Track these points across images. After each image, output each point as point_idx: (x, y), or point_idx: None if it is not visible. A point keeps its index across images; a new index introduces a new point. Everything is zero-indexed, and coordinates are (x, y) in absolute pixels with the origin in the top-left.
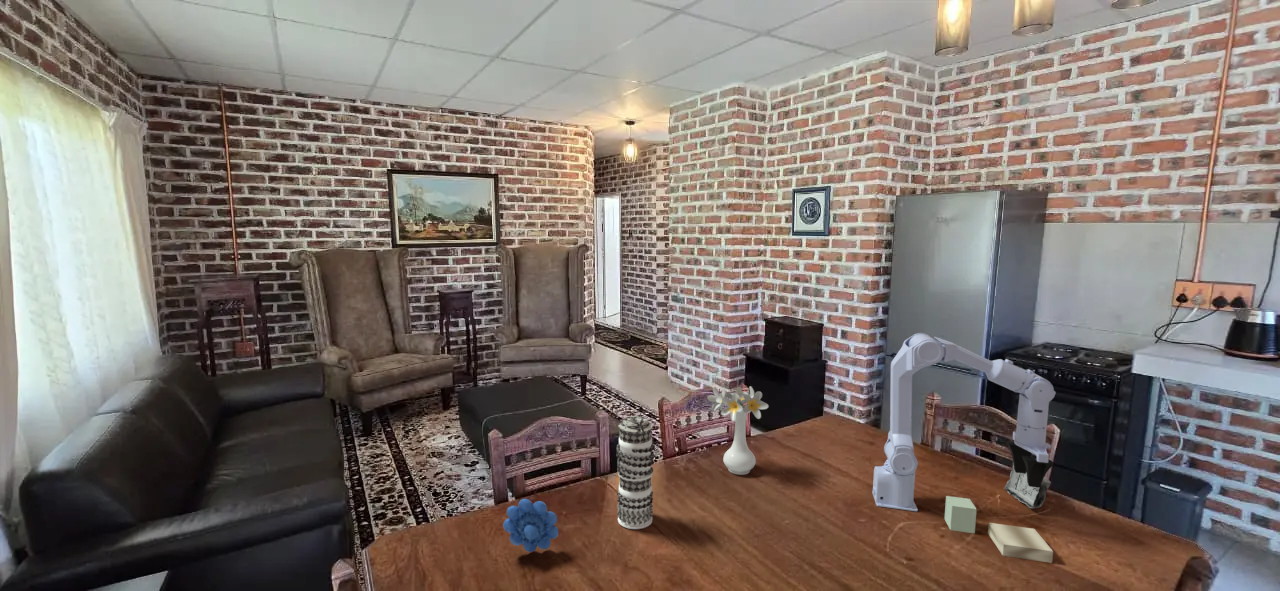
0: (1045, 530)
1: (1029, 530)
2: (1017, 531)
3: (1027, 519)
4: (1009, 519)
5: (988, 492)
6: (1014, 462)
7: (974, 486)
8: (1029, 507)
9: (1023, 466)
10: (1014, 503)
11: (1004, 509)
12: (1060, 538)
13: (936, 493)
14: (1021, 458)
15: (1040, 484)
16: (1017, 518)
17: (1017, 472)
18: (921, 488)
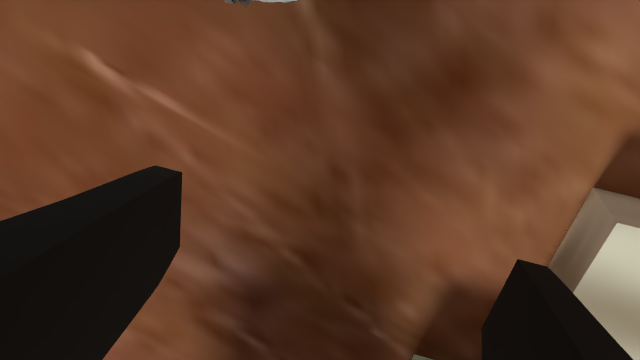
0: (506, 51)
1: (629, 259)
2: (624, 319)
3: (374, 75)
4: (379, 174)
5: (77, 99)
6: (112, 342)
7: (28, 132)
8: (264, 1)
9: (133, 238)
10: (179, 26)
11: (269, 132)
12: (610, 19)
13: (169, 328)
14: (60, 341)
15: (570, 293)
16: (366, 125)
17: (178, 238)
18: (139, 354)
